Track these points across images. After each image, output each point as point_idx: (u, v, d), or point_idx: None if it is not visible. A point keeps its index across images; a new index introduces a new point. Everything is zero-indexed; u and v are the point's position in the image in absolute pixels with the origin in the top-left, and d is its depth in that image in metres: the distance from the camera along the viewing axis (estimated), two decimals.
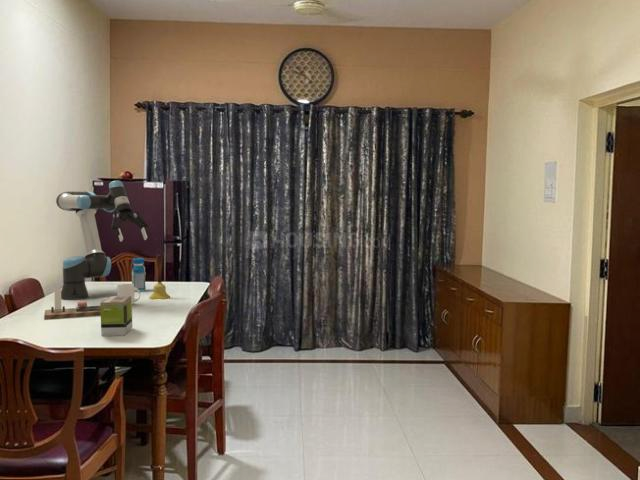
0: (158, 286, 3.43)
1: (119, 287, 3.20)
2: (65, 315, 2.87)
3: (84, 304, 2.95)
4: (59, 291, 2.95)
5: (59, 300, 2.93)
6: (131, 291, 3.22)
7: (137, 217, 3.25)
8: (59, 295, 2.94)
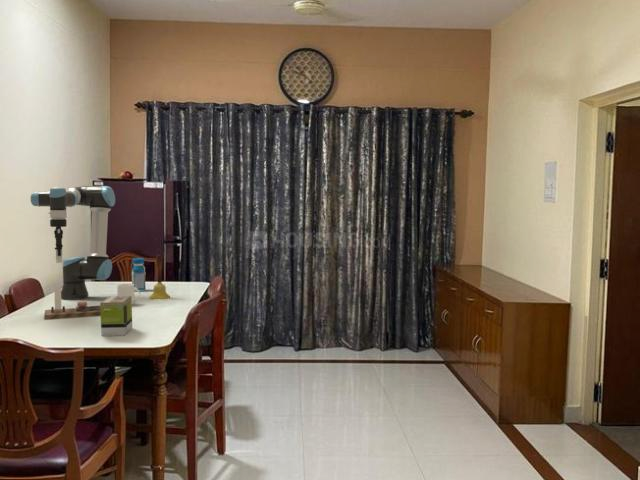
0: (158, 286, 3.43)
1: (119, 287, 3.20)
2: (65, 315, 2.87)
3: (84, 304, 2.95)
4: (59, 291, 2.95)
5: (59, 300, 2.93)
6: (131, 291, 3.22)
7: None
8: (59, 295, 2.94)
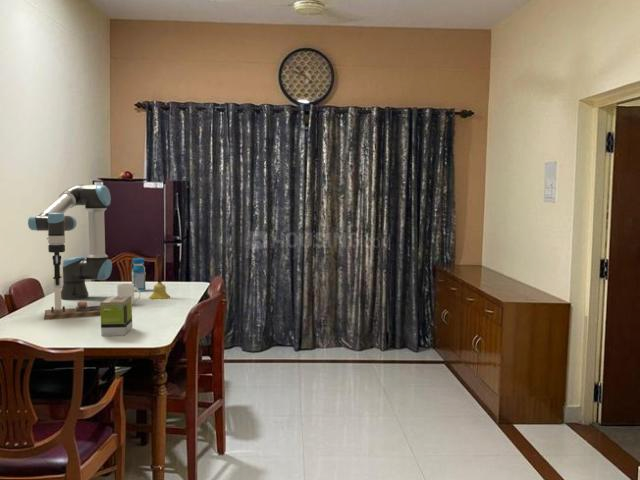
0: (158, 286, 3.43)
1: (119, 287, 3.20)
2: (65, 315, 2.87)
3: (84, 304, 2.95)
4: (59, 291, 2.94)
5: (59, 300, 2.93)
6: (131, 291, 3.22)
7: None
8: (59, 295, 2.94)
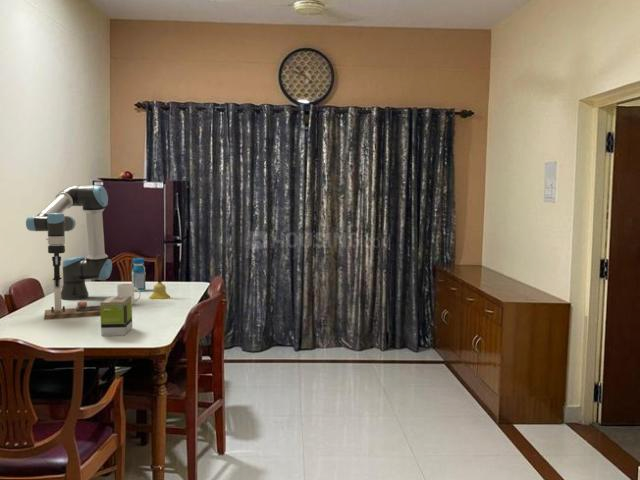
0: (158, 286, 3.43)
1: (119, 287, 3.20)
2: (65, 315, 2.87)
3: (84, 304, 2.95)
4: (59, 292, 2.90)
5: (59, 301, 2.91)
6: (131, 291, 3.22)
7: None
8: (59, 296, 2.91)
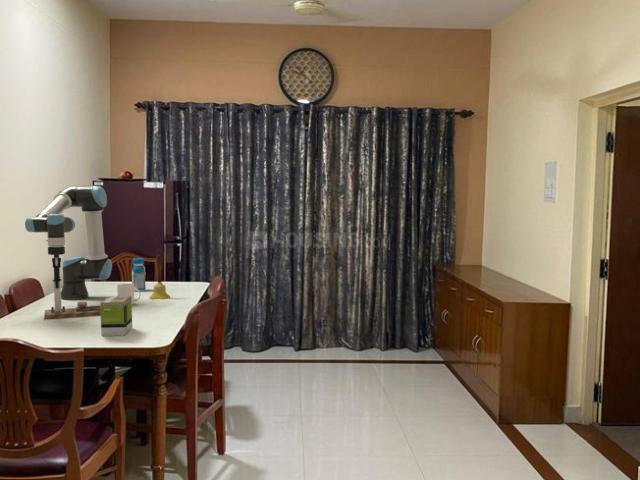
0: (158, 286, 3.43)
1: (119, 287, 3.20)
2: (65, 315, 2.87)
3: (84, 304, 2.95)
4: (59, 294, 2.88)
5: (59, 302, 2.90)
6: (131, 291, 3.22)
7: None
8: (59, 298, 2.89)
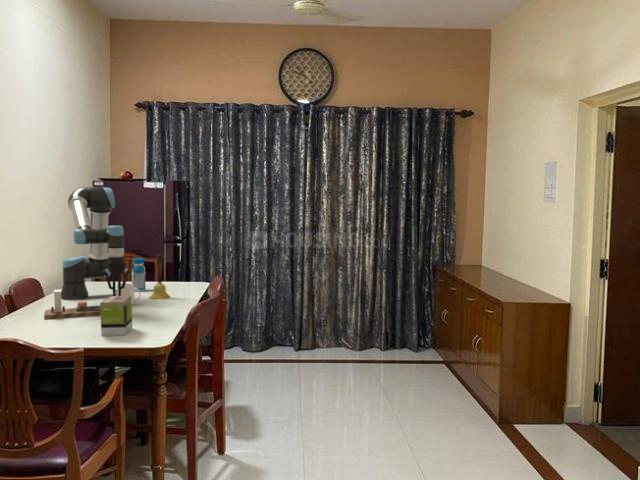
0: (158, 286, 3.43)
1: None
2: (65, 315, 2.87)
3: (84, 304, 2.95)
4: (59, 294, 2.88)
5: (59, 302, 2.90)
6: (131, 291, 3.22)
7: (125, 273, 3.03)
8: (59, 298, 2.89)
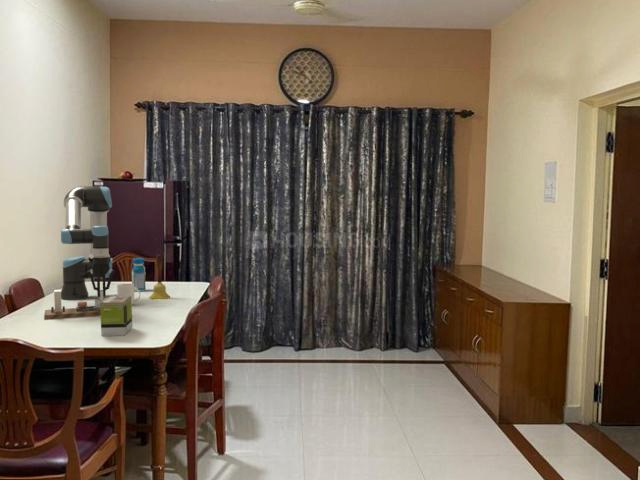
0: (158, 286, 3.43)
1: (119, 287, 3.20)
2: (65, 315, 2.87)
3: (84, 304, 2.95)
4: (59, 294, 2.88)
5: (59, 302, 2.90)
6: (131, 291, 3.22)
7: (109, 274, 3.00)
8: (59, 298, 2.89)
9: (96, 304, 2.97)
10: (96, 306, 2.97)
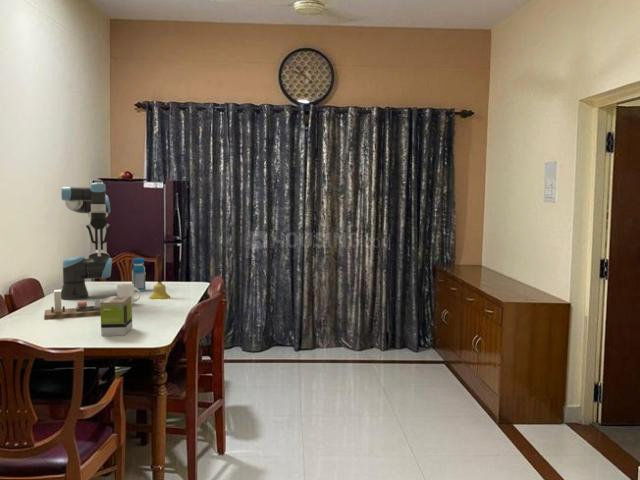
0: (158, 286, 3.43)
1: (119, 287, 3.20)
2: (65, 315, 2.87)
3: (84, 304, 2.95)
4: (59, 294, 2.88)
5: (59, 302, 2.90)
6: (131, 291, 3.22)
7: None
8: (59, 298, 2.89)
9: (96, 304, 2.97)
10: (96, 306, 2.97)
